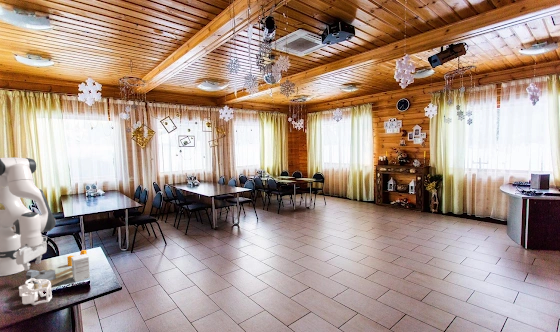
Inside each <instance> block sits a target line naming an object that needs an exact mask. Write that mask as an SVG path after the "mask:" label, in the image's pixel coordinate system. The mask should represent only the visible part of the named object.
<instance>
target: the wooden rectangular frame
mask: <svg viewBox="0 0 560 332" xmlns="http://www.w3.org/2000/svg"><path fill="white" fill-rule="evenodd" d="M32 278H35V279H44V280H45V279H47V280H49V281H50V282H51V287H52V286H54V285H56V284H60V283H61V282H63V281H66V280H68V279H70V278H73V274H72V267H71V268H68V269H65V270H63V271H60V272H58V273H56V270H55V269H48V270H46V269H44V270H43V269H42V270H41V271H39V274H37V275H34V276H32ZM33 283H34V290H36V289H39V287H38V282H35V281H33ZM41 283H42V282H41ZM45 287H48V284H44V285H42V288H45Z"/></svg>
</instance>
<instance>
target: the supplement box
mask: <svg viewBox="0 0 560 332" xmlns="http://www.w3.org/2000/svg"><path fill="white" fill-rule="evenodd" d="M73 256H74V255H73ZM71 261H72V266H71V268H72V274H73V277H72V278H73V280H74V282H75V283H76V282H80V281H83V280H86V279H89V278H91V274H90V273H91V271H90V270H91V269H90V258H89V255H88V254H87V255H86V254H82V255H80V254H79V255H75V256H74V257H71Z"/></svg>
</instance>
